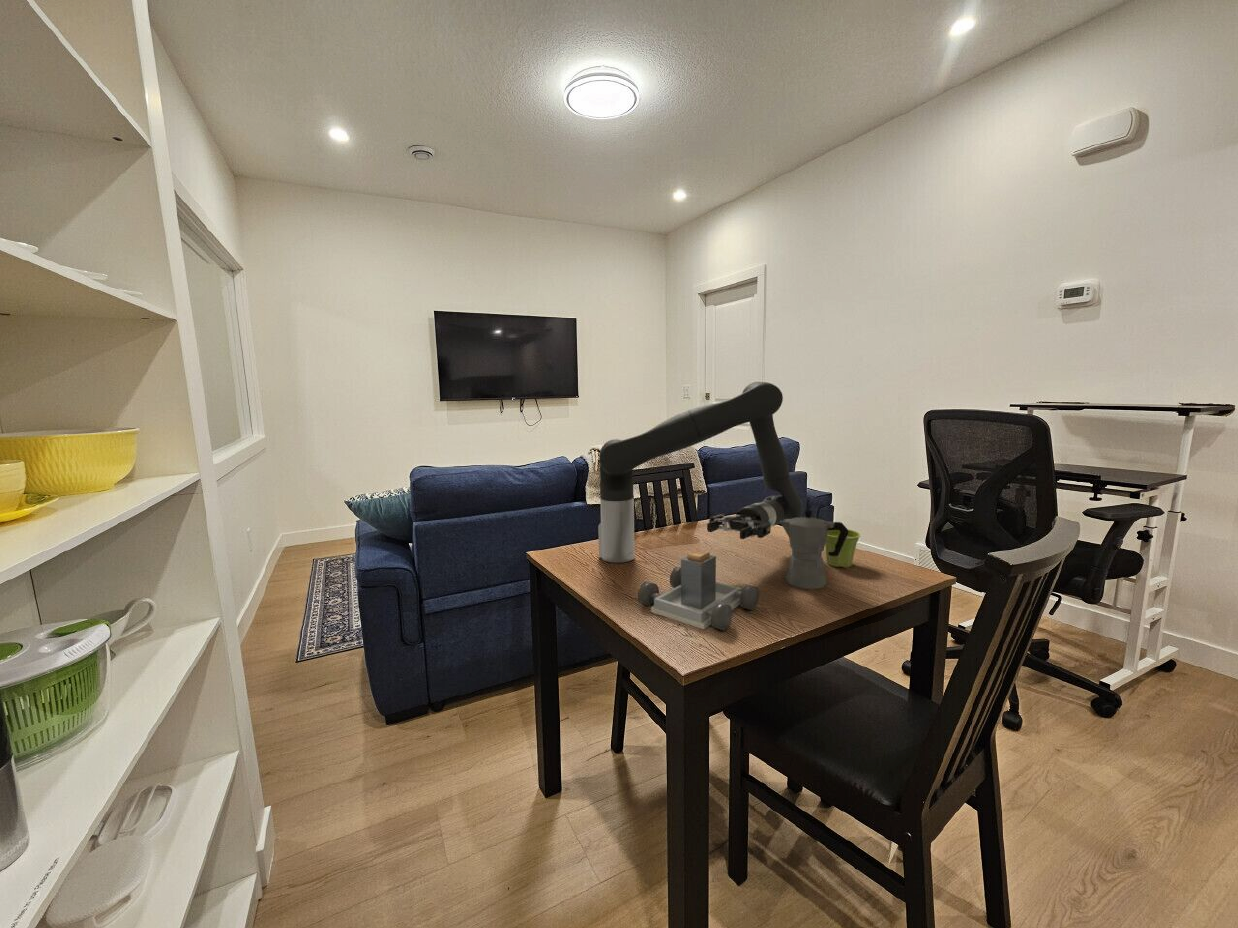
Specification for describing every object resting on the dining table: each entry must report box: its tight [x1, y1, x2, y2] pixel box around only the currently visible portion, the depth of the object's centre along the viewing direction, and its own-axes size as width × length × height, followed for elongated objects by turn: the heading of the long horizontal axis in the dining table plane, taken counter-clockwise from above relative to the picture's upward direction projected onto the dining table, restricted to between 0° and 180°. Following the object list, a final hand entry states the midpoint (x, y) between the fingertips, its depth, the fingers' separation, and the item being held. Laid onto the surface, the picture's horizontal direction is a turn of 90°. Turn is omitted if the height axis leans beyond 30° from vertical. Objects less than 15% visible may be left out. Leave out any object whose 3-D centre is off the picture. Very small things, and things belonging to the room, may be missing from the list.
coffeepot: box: [778, 509, 848, 590], centre depth 122 cm, size 15×9×18 cm, turn 65°
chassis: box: [637, 566, 760, 632], centre depth 111 cm, size 20×17×5 cm
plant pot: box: [824, 528, 861, 569], centre depth 136 cm, size 9×9×9 cm
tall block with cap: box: [680, 549, 717, 610], centre depth 110 cm, size 5×6×11 cm
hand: (724, 531), depth 120 cm, fingers open, 8 cm apart
